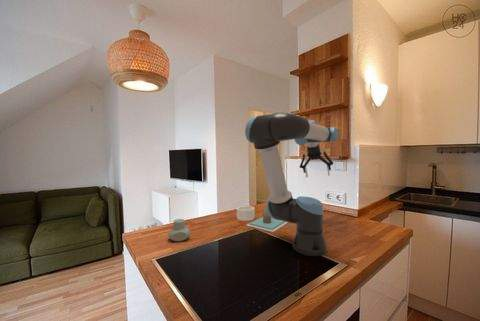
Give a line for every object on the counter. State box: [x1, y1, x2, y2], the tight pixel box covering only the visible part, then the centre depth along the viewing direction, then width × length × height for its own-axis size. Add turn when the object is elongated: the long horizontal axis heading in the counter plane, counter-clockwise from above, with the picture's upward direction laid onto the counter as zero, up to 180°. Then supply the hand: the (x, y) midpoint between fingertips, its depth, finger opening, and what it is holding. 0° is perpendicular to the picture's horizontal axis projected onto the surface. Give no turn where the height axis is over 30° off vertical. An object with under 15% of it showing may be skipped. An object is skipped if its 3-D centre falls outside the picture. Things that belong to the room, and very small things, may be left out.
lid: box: [248, 207, 286, 230], centre depth 133 cm, size 16×16×9 cm
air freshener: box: [168, 218, 191, 242], centre depth 113 cm, size 11×8×10 cm
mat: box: [246, 221, 289, 232], centre depth 134 cm, size 19×19×1 cm
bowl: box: [236, 205, 256, 222], centre depth 146 cm, size 12×12×7 cm
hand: (317, 175), depth 140 cm, fingers open, 13 cm apart
